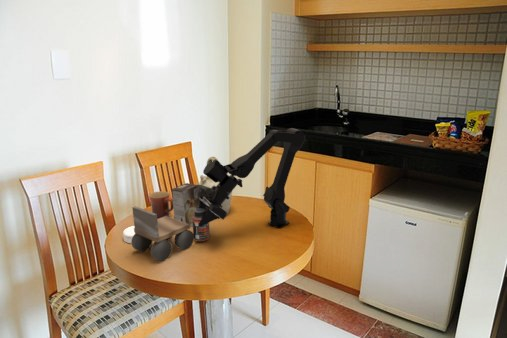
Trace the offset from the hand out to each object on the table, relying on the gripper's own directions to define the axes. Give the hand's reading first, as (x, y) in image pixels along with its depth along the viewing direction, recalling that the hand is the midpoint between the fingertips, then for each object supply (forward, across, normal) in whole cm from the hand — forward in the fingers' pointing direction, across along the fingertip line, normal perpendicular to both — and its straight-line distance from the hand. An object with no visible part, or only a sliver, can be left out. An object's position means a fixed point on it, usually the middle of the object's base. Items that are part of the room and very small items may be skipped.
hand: (197, 222), depth 143 cm
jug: (-5, -24, +16) cm, 29 cm away
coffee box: (+5, -17, +6) cm, 19 cm away
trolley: (+14, +1, -4) cm, 15 cm away
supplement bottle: (+4, 0, +6) cm, 7 cm away
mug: (+10, -28, 0) cm, 30 cm away
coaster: (+20, -13, -9) cm, 25 cm away
